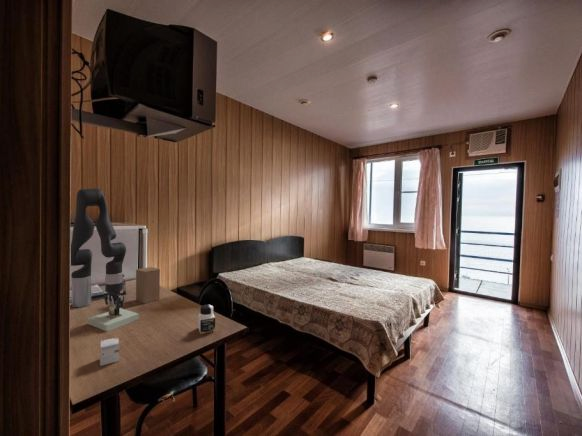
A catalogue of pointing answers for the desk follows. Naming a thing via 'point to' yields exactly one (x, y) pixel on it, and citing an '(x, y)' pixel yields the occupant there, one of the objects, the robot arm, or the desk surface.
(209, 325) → the medicine bottle
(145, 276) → the wooden block
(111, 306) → the peg
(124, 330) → the desk surface
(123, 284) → the figurine
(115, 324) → the seat board
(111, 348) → the skincare box
